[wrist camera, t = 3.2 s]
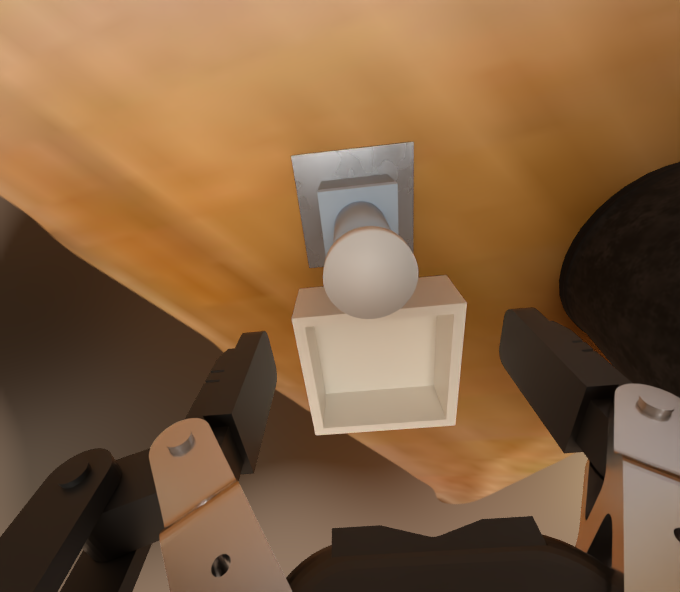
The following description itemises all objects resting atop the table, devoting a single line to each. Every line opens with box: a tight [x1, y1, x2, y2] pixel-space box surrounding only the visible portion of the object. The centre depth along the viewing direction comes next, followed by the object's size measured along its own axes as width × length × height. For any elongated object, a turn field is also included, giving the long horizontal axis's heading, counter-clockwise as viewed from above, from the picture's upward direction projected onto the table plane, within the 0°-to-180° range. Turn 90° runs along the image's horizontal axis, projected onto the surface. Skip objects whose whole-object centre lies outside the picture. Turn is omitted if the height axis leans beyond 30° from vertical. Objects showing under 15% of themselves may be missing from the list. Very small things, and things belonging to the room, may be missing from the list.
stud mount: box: [291, 142, 414, 268], centre depth 27 cm, size 10×10×5 cm
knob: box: [317, 174, 418, 319], centre depth 22 cm, size 6×6×14 cm
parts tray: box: [292, 275, 467, 435], centre depth 33 cm, size 15×15×6 cm
